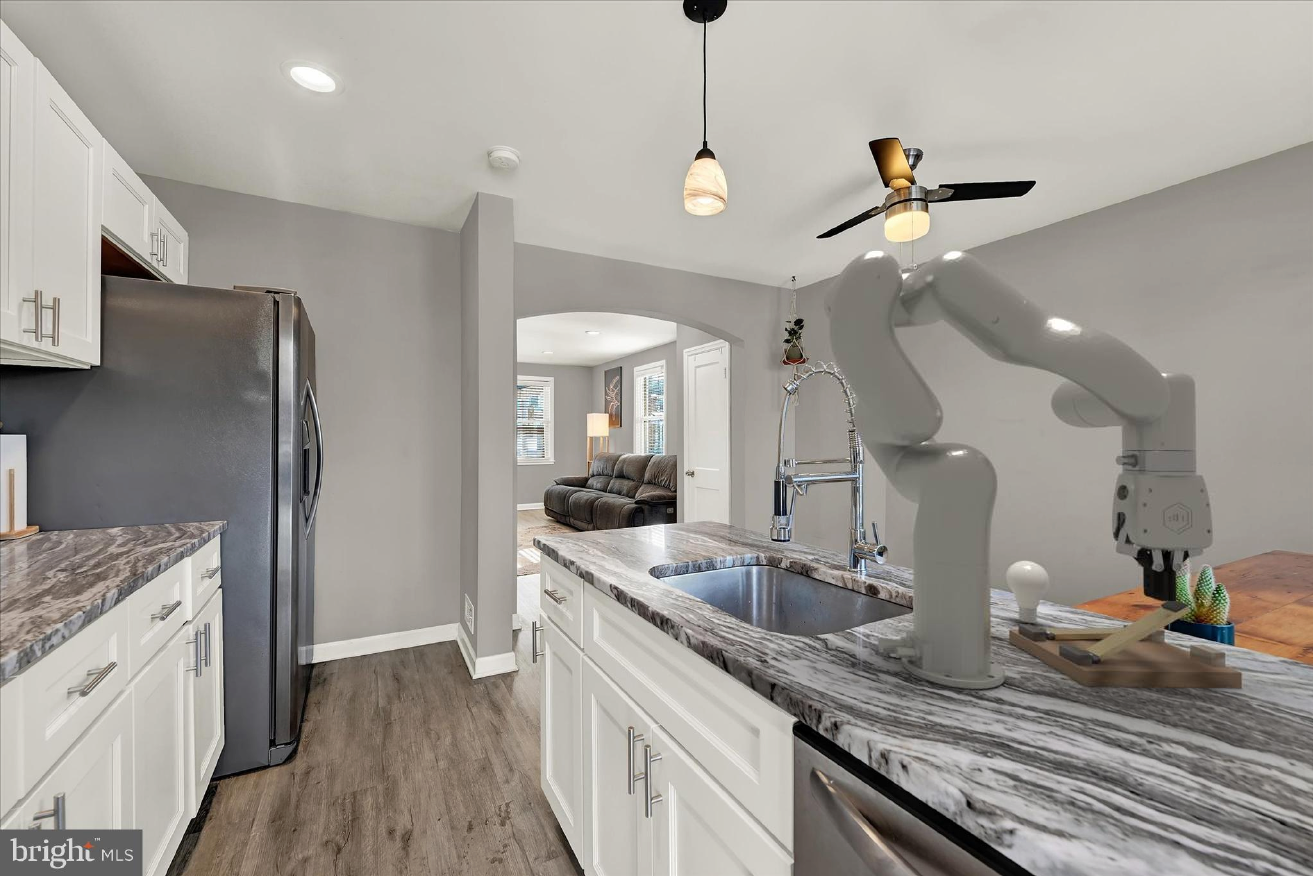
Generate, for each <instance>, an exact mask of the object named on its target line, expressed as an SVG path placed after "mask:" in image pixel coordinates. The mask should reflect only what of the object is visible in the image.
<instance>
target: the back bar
mask: <svg viewBox="0 0 1313 876" xmlns="http://www.w3.org/2000/svg"><path fill="white" fill-rule="evenodd" d="M1128 625H1129V624H1127V625H1125V624H1124V625H1123V627H1085V628H1084V627H1081V628H1078V627H1077V628H1043V627H1039V628H1038V629H1040V630H1042V631H1044V632H1046V637H1047V638H1049V639H1051V640H1053V639H1055V640H1063V639H1105V638H1107V637H1109V636H1110V635H1112V634H1114V633H1116V632H1118V631H1119V630H1121V629H1123V628H1125V627H1126V626H1128ZM1144 638H1148V636H1146V637H1144Z"/></svg>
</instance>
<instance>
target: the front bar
mask: <svg viewBox="0 0 1313 876" xmlns="http://www.w3.org/2000/svg"><path fill="white" fill-rule="evenodd" d="M1191 612H1192V610H1191V608H1190V607H1189V605H1188V604H1187V603H1185V602H1182V601H1178V600H1176V601H1164V602H1163V603H1161V604H1160V607H1158V608H1157V609H1155V610H1153V611H1151V612H1150V613H1148V614H1146V615H1144V616H1142V617H1141V618H1138V620H1137V619H1136V620H1135V621H1134V622H1131V623H1130V624H1127V625H1128V626H1126V627H1125V628H1123V629H1121V630H1119V631H1118V632H1116V633H1114V634H1112V635H1110V636H1109V637H1107V638H1105V639H1103V640H1102V641H1100V642H1098V643H1096V644H1094V645H1093V646H1091V647H1089V648H1087V649H1085V650H1083V651H1085V652H1087V653H1089V654H1091V655H1092V662H1093V663H1095V664H1098V663H1099V662H1100V661H1104V660H1105V659H1107V658H1109V657H1111V656H1112V655H1114V654H1116V653H1118V652H1120V651H1121V650H1123V649H1125V648H1127V647H1128V646H1130V645H1132V644H1134V643H1136V642H1137V641H1139V640H1141V639H1143V638H1144V637H1146V636H1148V635H1150V634H1152V633H1153V632H1155V631H1157V630H1159V629H1162V628H1164V627H1165V626H1168V625H1169V624H1171V623H1173V622H1175V621H1177V620H1178V619H1180V618H1182V617H1184V616H1186V615H1187V614H1189V613H1191Z"/></svg>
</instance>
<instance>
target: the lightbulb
mask: <svg viewBox="0 0 1313 876" xmlns="http://www.w3.org/2000/svg"><path fill="white" fill-rule="evenodd" d="M1005 573H1006V574H1005V578H1006V584H1007V586H1008V587H1009V589H1010V590H1011V591H1012V593H1013V594H1014V597H1015V601H1016V603H1017V605H1018V620H1019V621H1021V622H1023V624H1025V623H1028V624H1029V625H1033V624H1034V623H1037V621H1038V620H1037V619H1038V618H1037V616H1038V615H1037V614H1038V613H1037V612H1038V607H1039V606H1040V602H1041V601H1040V600H1041V598H1042V597H1043V596H1044V595H1045V594H1046V593H1047V591H1048V589H1049V587H1050V583H1051V581H1050V577H1049V574H1048V572H1047V570H1045V568H1044V567H1043V566H1041V565H1040V564H1038V563H1036V562H1034V561H1030V560H1019V561H1017V562H1014V563H1013V564H1011V565H1010V566H1009V567H1008V569H1007V571H1006V572H1005Z"/></svg>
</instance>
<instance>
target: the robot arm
mask: <svg viewBox="0 0 1313 876" xmlns="http://www.w3.org/2000/svg"><path fill="white" fill-rule="evenodd" d="M900 265H901V264H900V263H899V262H898V260H897V259H896V258H895V257H894V256H893V255H891V254H890V253H889V252H886V251H884V250H870V251H867V252H864V253H862V254H860V255H858V256H856V257H855V258H854V259H852V260H851V261H850V262H849V263H848V264H847V265H846V266H845V267H844V269H842V271H841V272H840V273H839V275H838V276H837V277H836V278H835V280H834V281H833V282H832V283H831V284H830V285H829V287H828V288H827V291H826V292H825V295H824V298H823V308H824V309H823V310H824V313H825V315H826V318H827V319H828V320H829V341H830V346H831V350H832V354H833V358H834V360H835V363H836V365H837V366H838V368H839V370H840V372H841V373H842V375H843V376H844V378H845V380H846V381H847V384H848V386H849V387H850V388H851V390H852V392H853V393H854V395H855V396H856V398H857V399H858V400H857V401H856V403H855V405H854V409H853V425H854V428H855V431H856V433H857V435H858V437H859V439H860V440H861V442H862V443H863V445H864V447H865V448H866V449H867V451H868V452H869V454H870V456H871V457H872V458H873V460H874V462H875V463H876V464H877V465H878V468H879V469H880V470H881V472H882V473H883V474H884V476H885V477H886V478H887V480H888V481H889V483H890V485H892V487H893V488H894V490H895V491H897V493H898V494H899V495H900V496H902V497H903V498H904V499H906V500H907V501H910V502H912V503H914V504H917V512H916V515H915V521H914V526H913V534H912V535H913V536H912V580H913V581H912V582H913V583H912V589H913V592H912V594H913V595H912V602H913V603H912V605H913V607H912V608H913V609H912V611H913V613H912V614H913V618H912V620H913V621H912V623H913V625H912V626H913V627H912V629H913V630H912V629H911V630H906V631H905V636H900V638H899V639H898V638H897V639H893V638H883V637H882V638H879V639H878V641H877V645H878V650H879V652H880V653H881V654H883V653H884V654H885V653H886V654H887V653H888V654H891V653H892V654H894V656H895V658H897V659H900V658H901V664H902V666H903V667H904V669H906V670H907V671H908V672H910V673H912V674H913V675H915V676H916V677H920V678H921V679H924V680H926V681H929V682H932V683H936V684H939V685H943V686H948V687H954V688H960V689H967V690H968V689H971V690H973V689H974V690H984V689H990V688H996V687H998V686H1000V685H1002V684H1003V683H1004V681H1005V670H1004V668H1003V667H1002V666H1001V665H1000V664H999V663H998V662H997V661H994V660H993V659H992V658H991V656H992V650H991V649H992V648H991V646H992V642H991V641H992V639H991V638H992V637H991V633H992V632H991V631H992V630H991V628H992V627H991V625H992V624H991V622H992V621H991V620H992V618H991V616H992V614H991V531H992V522H993V521H992V520H993V515H994V514H993V513H994V510H995V509H994V508H995V504H996V499H997V495H998V494H997V493H998V476H997V473H996V472H997V471H996V469H995V467H994V465H993V463H992V461H991V460H990V459H989V458H988V456H987V455H985V454H984V453H983V452H982V451H981V450H979V449H977V448H976V447H973V446H971V445H968V444H966V443H965V444H964V443H957V442H937V440H936V438H935V436H936V435H937V434H938V433H939V431H940V429H941V427H942V426H943V422H944V412H943V408H942V405H941V403H940V401H939V399H938V398H937V396H936V394H935V393H934V391H933V390H932V389H931V387H930V385H929V384H928V383H927V382H926V380H925V379H924V378H923V376H922V374H921V373H920V372H919V371H918V369H917V367H916V366H915V365H914V364H913V362H912V360H911V359H910V358H909V356H908V355H907V353H906V351H905V350H904V348H903V346H902V344H901V343H900V341H899V339H898V336H897V334H896V329H904V328H913V327H914V328H915V327H923V326H928V325H932V324H936V323H938V322H940V321H944V322H946V323H947V324H948V325H949V326H950V327H952V329H954V330H956V332H959V334H960V335H962V336H964V337H965V338H966V339H967V340H969V341H970V342H971V343H972V344H974V346H975V347H977V348H978V349H979V350H981V351H982V352H983V353H984V354H985V355H986V356H988V357H990V358H991V359H993V360H996V361H999V362H1002V363H1006V364H1010V365H1014V366H1021V367H1027V368H1032V369H1039V370H1043V371H1046V372H1049V373H1052V374H1055V375H1057V376H1059V377H1063V378H1064V379H1066V380H1065V382H1063V383H1061V384H1060V385H1059V386H1057V388H1056V389H1054V391H1053V394H1052V396H1051V400H1050V406H1051V410H1052V413H1054V415H1055V416H1056V417H1057V418H1058V419H1059V420H1060V421H1061V422H1062V423H1065V424H1067V425H1069V426H1071V427H1076V428H1081V429H1082V428H1085V429H1087V428H1088V429H1089V428H1090V429H1093V428H1096V429H1097V428H1107V427H1108V428H1109V427H1121V450H1122V451H1121V454H1122V455H1118V456H1116V458H1115V463H1116V464H1117V465H1118V466H1122V467H1121V469H1122V471H1121V472H1122V473H1118V475H1117V479H1116V483H1115V487H1114V494H1113V501H1112V502H1113V503H1112V510H1111V530H1112V536H1113V539H1114V541H1116V542H1117V543H1116V548H1115V551H1116V553H1118V554H1119V555H1124V556H1129V557H1132V558H1133V559H1134V560H1135V561H1136V562H1137V565H1138V566H1139V567H1141V568H1142V577H1143V578H1142V580H1143V582H1142V583H1143V585H1142V586H1143V595H1144V596H1145V597H1147V598H1150V599H1155V600H1157V601H1160V602H1166V601H1177V572H1180V571H1181V570H1182V567H1183V564H1184V563H1185V562H1186V561H1187V560H1188V558H1189V559H1190V558H1195V557H1199V556H1201V555H1203V554H1204V550H1205V549H1207V548H1209V547H1211V546H1212V545H1213V540H1214V532H1213V531H1214V530H1213V516H1212V509H1211V502H1210V497H1209V492H1208V487H1207V485H1206V481H1205V479H1204V475H1203V474H1197V451H1196V450H1197V421H1196V419H1197V417H1196V416H1197V414H1196V412H1197V411H1196V407H1197V406H1196V382H1195V379H1194V378H1193V376H1191V375H1189V374H1187V373H1184V372H1160V370H1158V368H1157V367H1156V366H1154V365H1153V364H1152V363H1151V362H1150V361H1148V360H1147V358H1145V357H1144V356H1143V355H1141V354H1140V353H1139V352H1138V351H1136V350H1135V349H1133V348H1132V347H1130V345H1128V344H1126V343H1125V342H1124V341H1122V340H1120V339H1118V338H1116V337H1115V336H1113V335H1112V334H1109V333H1108V332H1107V333H1106V332H1105V331H1102V330H1100V329H1097V328H1095V327H1091V326H1088V325H1085V324H1082V323H1081V322H1079V321H1078V322H1077V321H1076V320H1072V319H1070V318H1067V317H1064V316H1059V315H1058V314H1053V313H1050V312H1048V311H1046V310H1044V309H1042V307H1040V306H1038V305H1037V304H1036V303H1034V302H1033V301H1031V300H1030V299H1029V298H1028V297H1027V296H1025V295H1024V294H1023V293H1022V292H1020V291H1019V290H1018V289H1016V288H1015V287H1014V286H1012V285H1011V284H1010V283H1009V282H1007V281H1006V280H1005V279H1003V278H1002V277H1001V276H1000V275H998V274H997V273H995V272H994V271H993V270H992V269H991V268H989V267H988V266H986V265H985V264H984V263H983V262H982V261H980V260H979V259H978V258H977V257H975V256H974V255H972V254H970V253H968V252H965V251H964V250H963V251H962V250H950V251H947V252H946V251H945V252H944V253H941V254H939V255H937V256H935V257H933V258H932V259H930V260H929V261H927V262H926V263H924V264H923V265H921V266H920V267H919V268H918V269H917V270H915V271H912V272H908V273H907V272H906V273H903V270H902V267H901V266H900Z"/></svg>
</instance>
